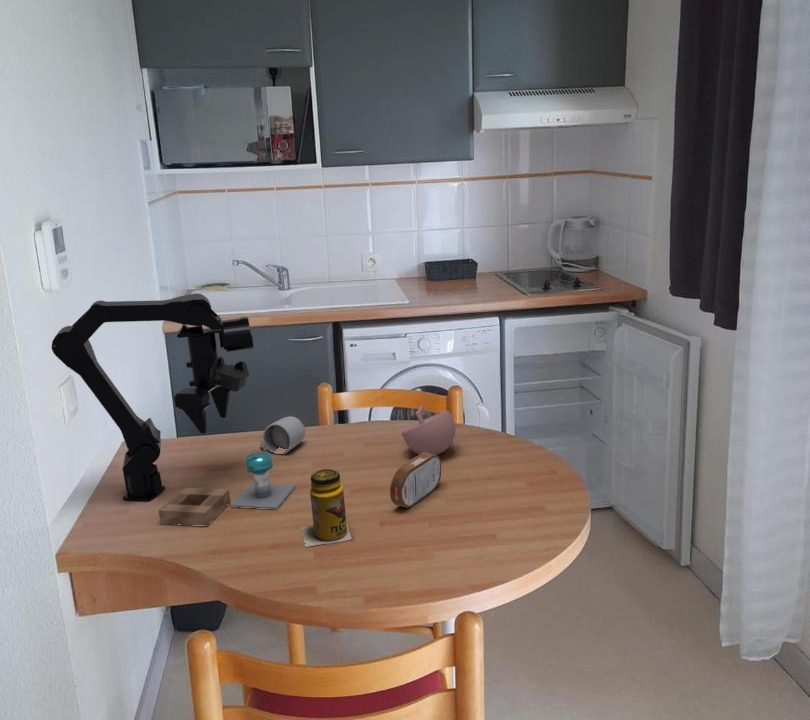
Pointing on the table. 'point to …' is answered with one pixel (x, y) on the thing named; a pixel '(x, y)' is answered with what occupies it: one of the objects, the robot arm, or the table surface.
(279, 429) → the ceramic mug
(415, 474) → the tin
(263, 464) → the teal topped white bottle
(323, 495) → the condiment
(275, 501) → the slate mat
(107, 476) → the table surface
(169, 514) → the eye block
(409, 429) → the mortar and pestle
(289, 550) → the table surface
